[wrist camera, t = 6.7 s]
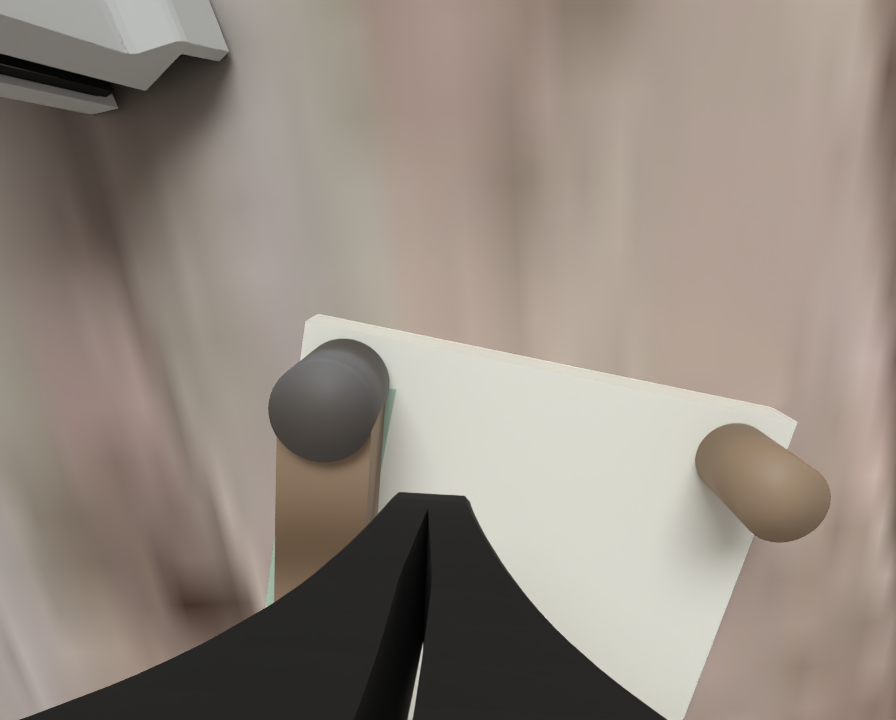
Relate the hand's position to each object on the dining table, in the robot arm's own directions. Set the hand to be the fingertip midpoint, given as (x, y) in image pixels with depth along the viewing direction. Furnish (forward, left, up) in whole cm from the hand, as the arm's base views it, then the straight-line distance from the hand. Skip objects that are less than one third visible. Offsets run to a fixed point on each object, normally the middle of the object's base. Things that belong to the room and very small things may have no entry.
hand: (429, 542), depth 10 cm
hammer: (+3, +3, -7) cm, 9 cm away
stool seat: (-3, +6, -9) cm, 12 cm away
